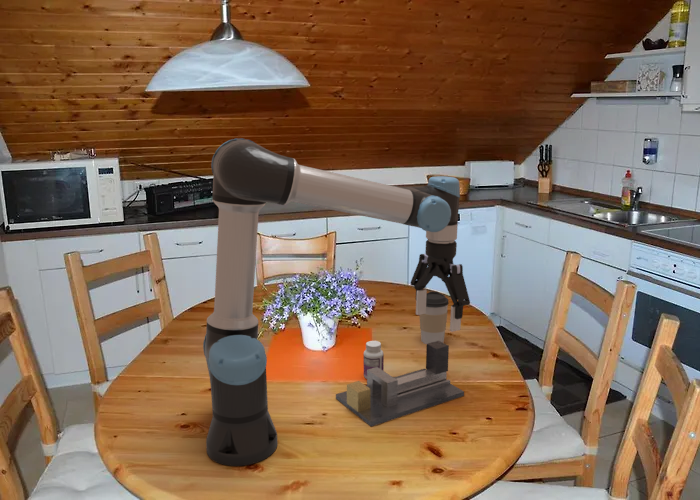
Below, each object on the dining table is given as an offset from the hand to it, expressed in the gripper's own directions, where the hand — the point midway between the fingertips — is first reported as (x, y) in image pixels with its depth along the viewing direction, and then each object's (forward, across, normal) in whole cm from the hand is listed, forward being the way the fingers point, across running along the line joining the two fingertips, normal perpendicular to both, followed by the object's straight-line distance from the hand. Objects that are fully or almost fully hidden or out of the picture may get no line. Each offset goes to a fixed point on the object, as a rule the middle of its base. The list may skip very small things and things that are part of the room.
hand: (437, 322), depth 155 cm
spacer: (+14, 0, +22) cm, 26 cm away
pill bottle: (+18, +13, +10) cm, 25 cm away
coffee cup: (+18, +24, -19) cm, 35 cm away
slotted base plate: (+18, 0, +11) cm, 21 cm away
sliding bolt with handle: (+16, 0, +5) cm, 17 cm away
